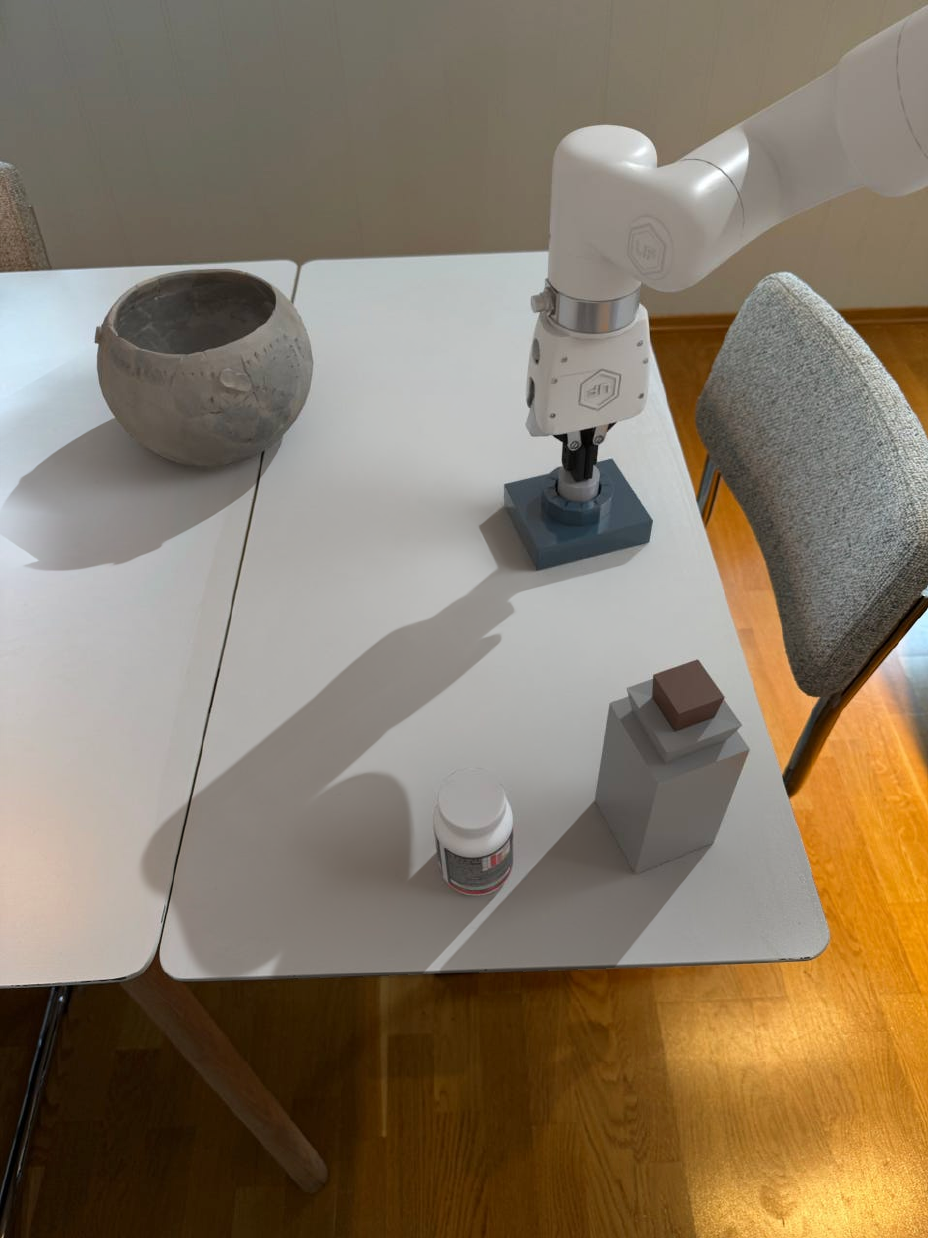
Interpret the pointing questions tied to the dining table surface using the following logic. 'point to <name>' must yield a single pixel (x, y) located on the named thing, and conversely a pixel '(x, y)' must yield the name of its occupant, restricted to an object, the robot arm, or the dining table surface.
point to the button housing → (576, 518)
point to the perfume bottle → (669, 765)
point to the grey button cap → (578, 486)
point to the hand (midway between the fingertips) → (578, 471)
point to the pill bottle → (473, 832)
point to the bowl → (204, 365)
